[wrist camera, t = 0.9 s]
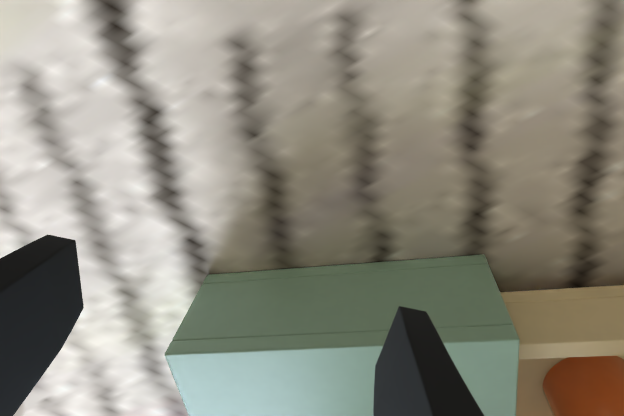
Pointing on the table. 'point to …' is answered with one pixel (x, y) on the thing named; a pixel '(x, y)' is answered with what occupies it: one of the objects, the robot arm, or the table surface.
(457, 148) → the table surface
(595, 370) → the spice jar
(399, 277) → the cabinet
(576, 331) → the drawer
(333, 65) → the table surface
